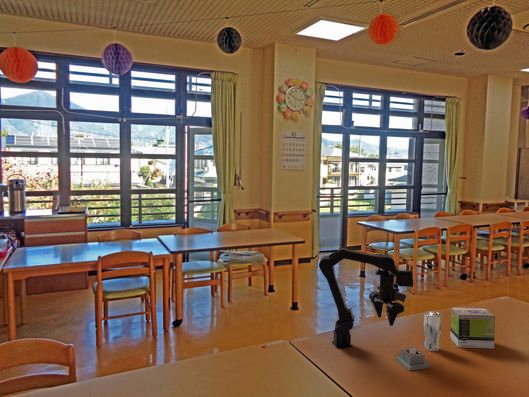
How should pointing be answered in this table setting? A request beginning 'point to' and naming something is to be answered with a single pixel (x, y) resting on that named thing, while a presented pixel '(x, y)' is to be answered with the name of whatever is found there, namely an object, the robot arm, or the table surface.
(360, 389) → the table surface
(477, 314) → the tea box
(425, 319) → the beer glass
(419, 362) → the square ring block
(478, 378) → the table surface
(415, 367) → the shaft block
